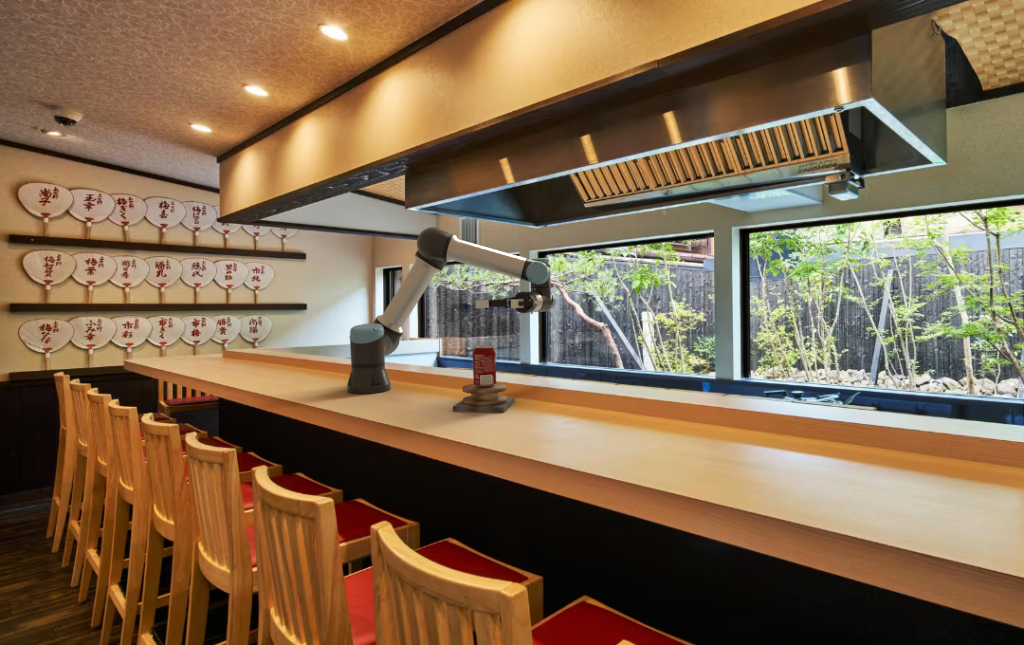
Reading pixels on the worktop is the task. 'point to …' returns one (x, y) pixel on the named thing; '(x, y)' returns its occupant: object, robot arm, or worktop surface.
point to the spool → (484, 399)
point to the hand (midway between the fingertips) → (493, 304)
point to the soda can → (484, 366)
